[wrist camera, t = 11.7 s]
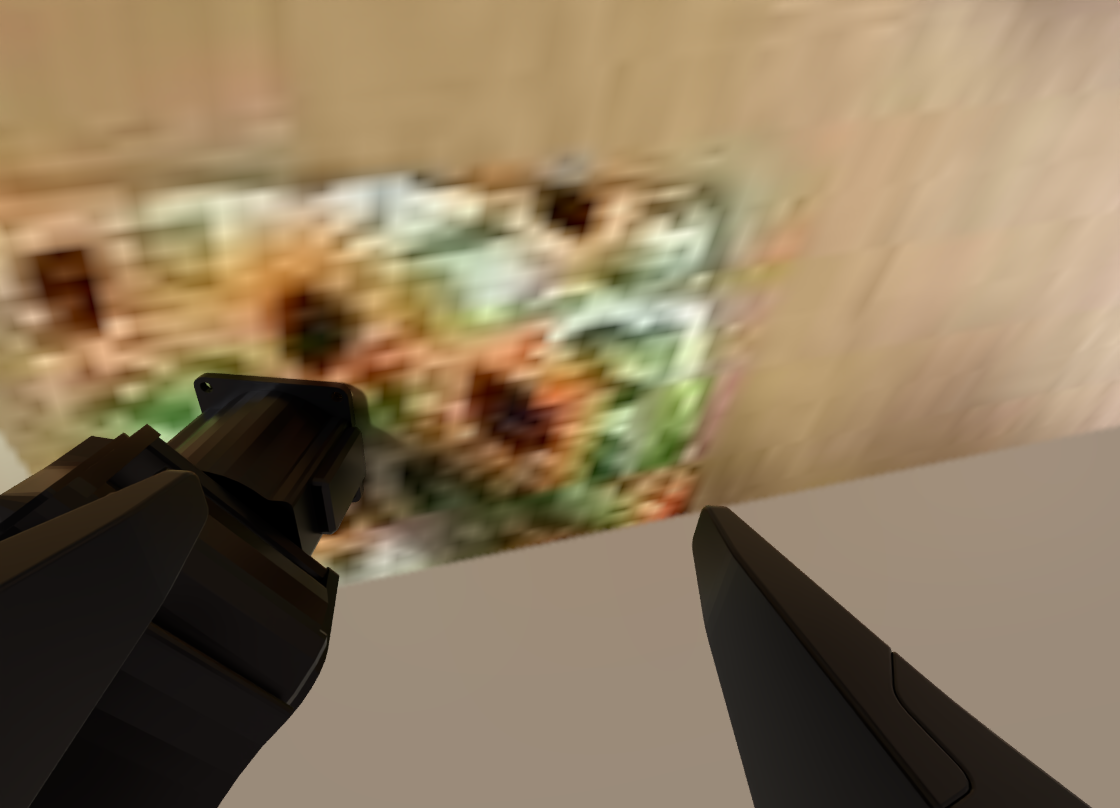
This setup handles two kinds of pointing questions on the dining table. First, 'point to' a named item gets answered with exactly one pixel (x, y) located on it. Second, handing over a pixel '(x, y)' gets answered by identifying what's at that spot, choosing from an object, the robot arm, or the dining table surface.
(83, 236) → the dining table surface
